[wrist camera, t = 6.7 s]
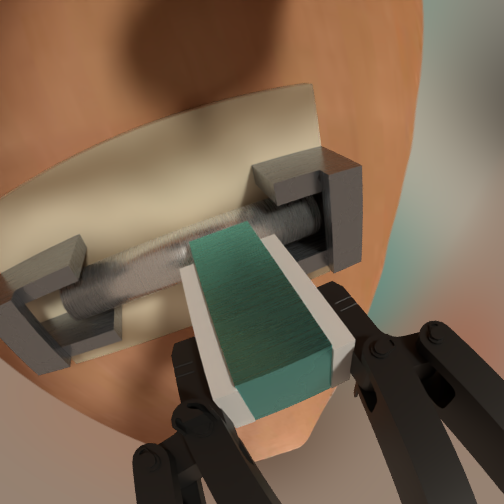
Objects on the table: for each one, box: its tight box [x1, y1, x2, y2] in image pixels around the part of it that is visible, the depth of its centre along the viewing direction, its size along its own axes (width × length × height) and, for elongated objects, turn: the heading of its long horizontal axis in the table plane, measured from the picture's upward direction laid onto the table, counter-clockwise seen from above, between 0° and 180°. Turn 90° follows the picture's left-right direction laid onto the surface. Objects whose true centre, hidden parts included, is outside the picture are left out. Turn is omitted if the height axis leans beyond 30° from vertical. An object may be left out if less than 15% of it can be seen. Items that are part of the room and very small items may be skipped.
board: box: [0, 83, 330, 364], centre depth 17 cm, size 14×22×1 cm, turn 102°
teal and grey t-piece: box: [59, 195, 332, 420], centre depth 13 cm, size 3×15×11 cm, turn 102°
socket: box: [251, 146, 363, 274], centre depth 16 cm, size 6×4×4 cm
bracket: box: [0, 234, 122, 375], centre depth 14 cm, size 6×7×4 cm
